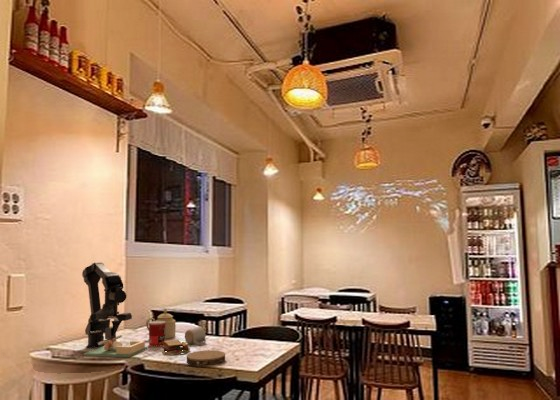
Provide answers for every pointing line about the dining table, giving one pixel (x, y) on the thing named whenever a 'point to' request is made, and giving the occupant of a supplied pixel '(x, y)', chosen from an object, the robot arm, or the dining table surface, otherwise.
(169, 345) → the toy sandwich meal
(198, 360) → the brown round disc
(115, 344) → the ball
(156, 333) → the canned food
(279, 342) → the dining table surface
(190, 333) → the ceramic mug
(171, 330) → the cream teapot
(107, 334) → the kicker rod
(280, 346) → the dining table surface
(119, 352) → the pitch
